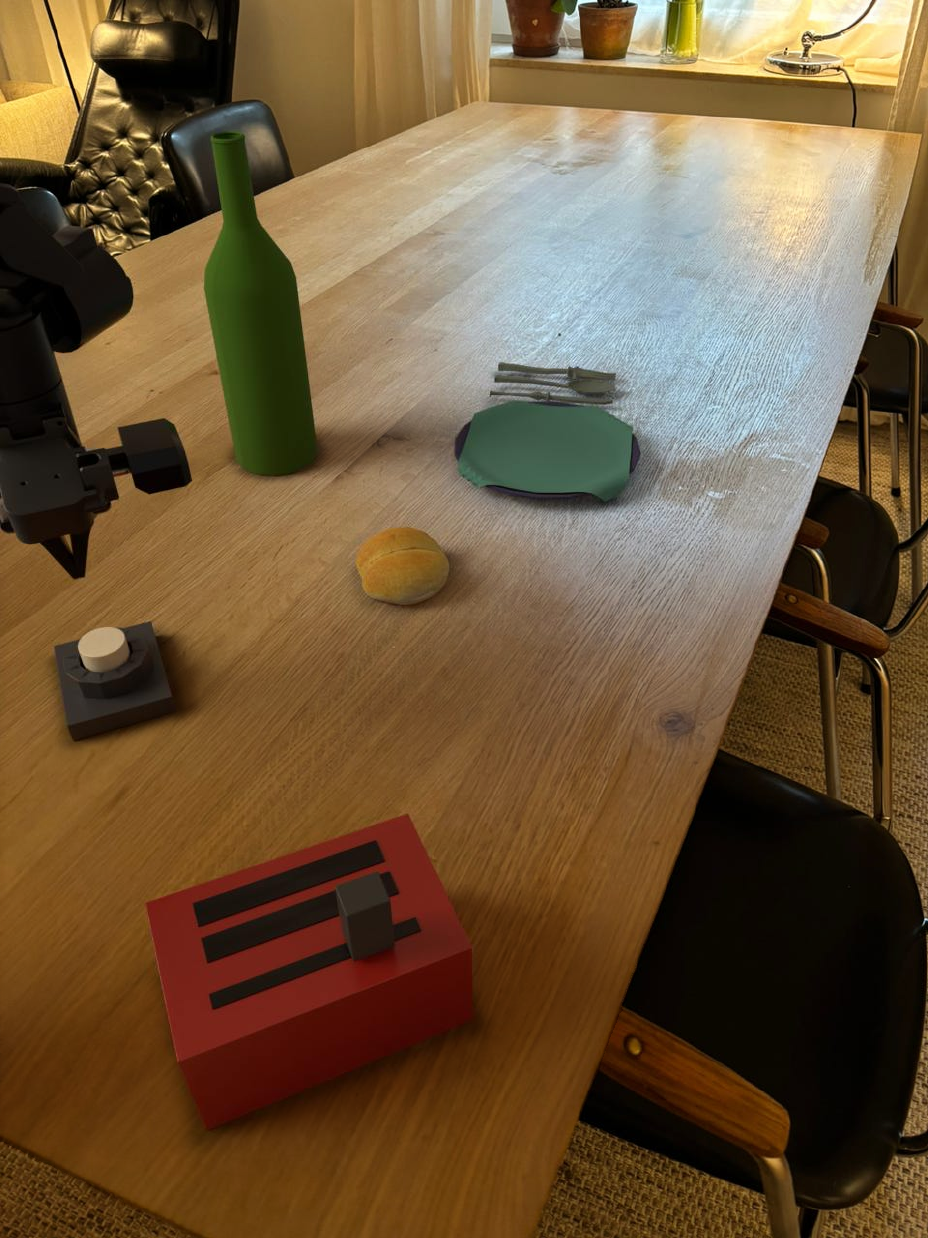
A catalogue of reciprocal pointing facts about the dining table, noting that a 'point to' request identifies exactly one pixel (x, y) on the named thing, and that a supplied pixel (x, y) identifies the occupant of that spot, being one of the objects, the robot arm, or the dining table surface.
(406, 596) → the bread roll
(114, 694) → the block
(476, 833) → the dining table surface
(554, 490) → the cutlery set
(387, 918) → the slider
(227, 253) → the wine bottle
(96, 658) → the button
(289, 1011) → the toaster
